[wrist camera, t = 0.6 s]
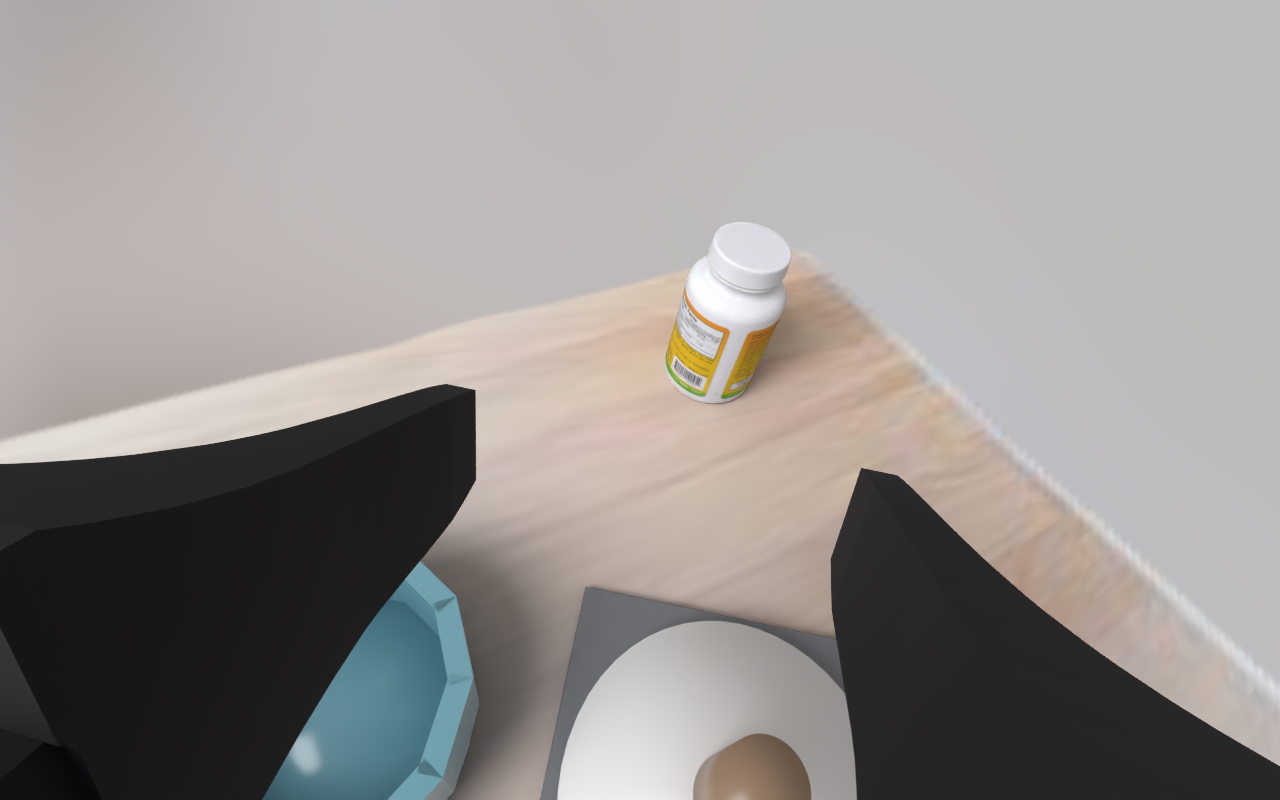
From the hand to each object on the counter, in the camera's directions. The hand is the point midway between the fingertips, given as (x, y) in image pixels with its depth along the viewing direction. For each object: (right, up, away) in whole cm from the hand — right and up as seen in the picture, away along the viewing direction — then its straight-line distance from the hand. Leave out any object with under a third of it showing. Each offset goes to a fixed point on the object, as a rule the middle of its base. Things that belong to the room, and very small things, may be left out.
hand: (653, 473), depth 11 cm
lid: (+3, -14, +12) cm, 19 cm away
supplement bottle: (+4, +3, +26) cm, 27 cm away
